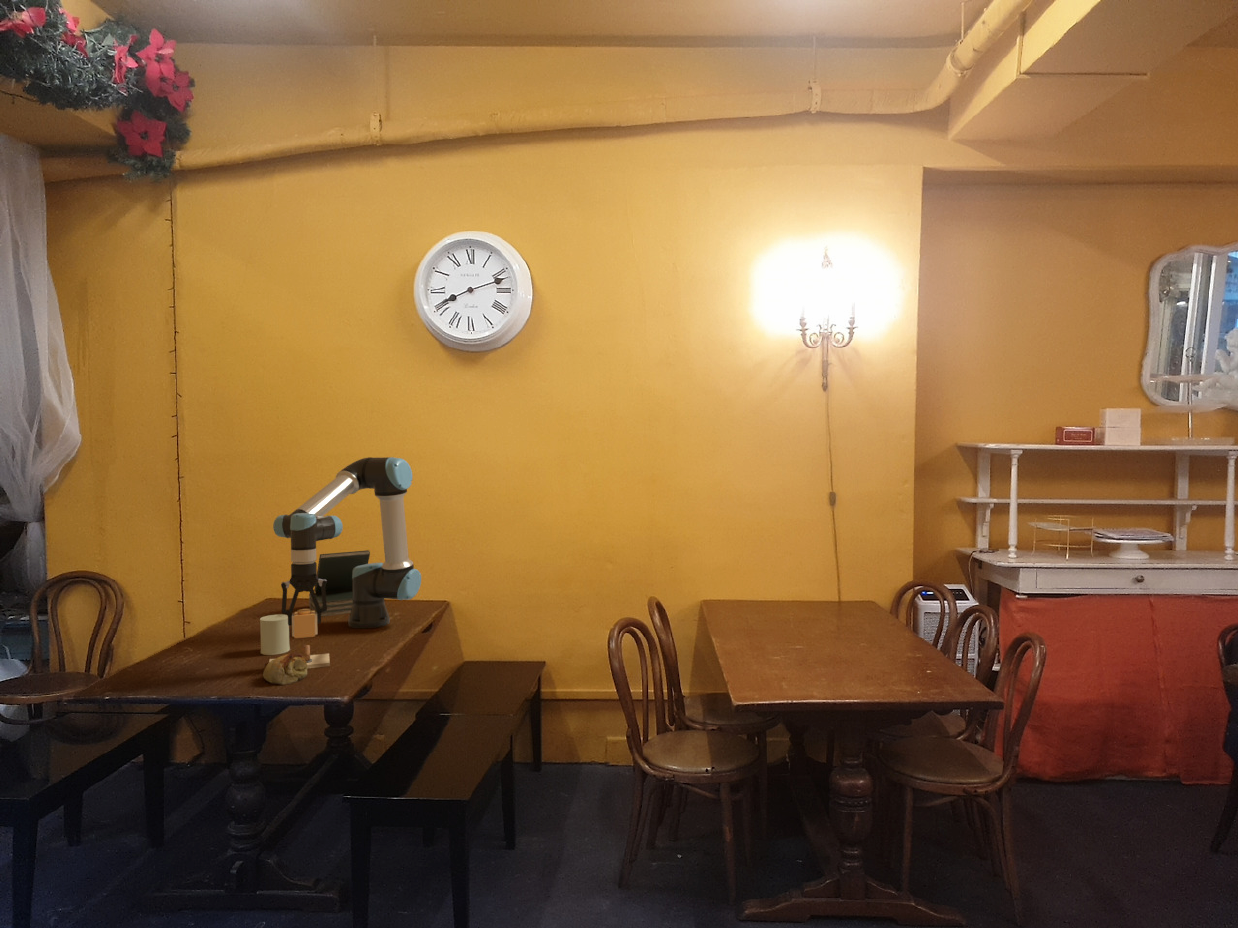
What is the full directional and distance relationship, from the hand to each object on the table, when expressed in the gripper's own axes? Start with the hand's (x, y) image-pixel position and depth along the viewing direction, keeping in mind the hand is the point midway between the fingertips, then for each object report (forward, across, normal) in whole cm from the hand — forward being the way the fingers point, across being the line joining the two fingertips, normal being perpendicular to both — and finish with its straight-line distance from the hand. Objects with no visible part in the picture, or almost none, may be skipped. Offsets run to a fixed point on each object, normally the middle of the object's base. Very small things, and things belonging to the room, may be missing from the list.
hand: (304, 634), depth 254 cm
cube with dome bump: (0, 0, 0) cm, 0 cm away
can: (+10, +10, -21) cm, 26 cm away
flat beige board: (+10, +2, -2) cm, 10 cm away
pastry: (+11, +5, +11) cm, 16 cm away
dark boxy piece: (+10, -13, -79) cm, 81 cm away
